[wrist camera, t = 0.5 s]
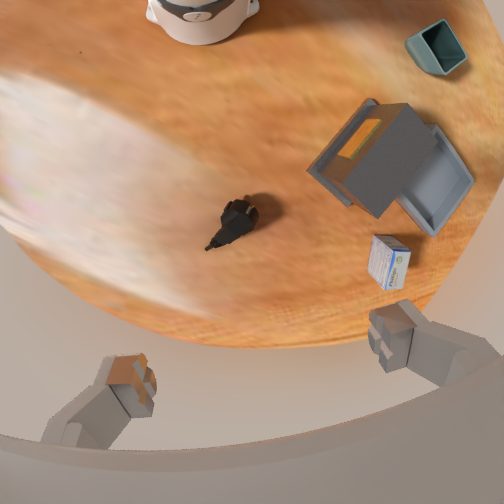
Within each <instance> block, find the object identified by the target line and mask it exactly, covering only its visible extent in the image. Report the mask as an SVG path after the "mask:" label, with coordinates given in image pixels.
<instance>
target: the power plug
mask: <svg viewBox="0 0 504 504" xmlns="http://www.w3.org/2000/svg"><path fill="white" fill-rule="evenodd" d="M258 218H259V215H258V212H257V210H256V208H255V206H251V207H250V203H249V202H247V201H244V197H242V196H241V197H240V198H239V199H235V200H234V201H233V202H232V201H230V202H229V203H228V204H227V206H226V207H225V209H224V212H223V214H222V216H221V223H222V228H221V229H220V230H219V231H218V232H217V233H216V235H215V236H214V237H213V238H212V240H211V242H210V245H208V246H207V247H206V248H205V250H206V251H208V250H209V249H211V248H212V247H214V248H217V247H221V246H224V245H226V244H227V243H228V244H230V243H232V242H233V241H234V240H236V239H237V238H239V237H240V236H241V235H245V234H247V233H248V232H250V231H252V230H253V229H254V227H255V224H256V222H257V220H258Z"/></svg>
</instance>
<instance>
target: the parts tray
mask: <svg viewBox="0 0 504 504" xmlns="http://www.w3.org/2000/svg"><path fill="white" fill-rule="evenodd" d="M424 124H425V125H426V126H427V127H428V129H429V130H430V131H431V133H432V134H433V135H434V137H435V138H436V139H437V141H438V143H437V144H436V146H435V147H434V148H433V150H432V151H431V153H430V154H429V155H428V157H427V158H426V159H425V161H424V162H423V163H422V164H421V166H420V167H419V168H418V170H417V171H416V172H415V174H414V175H413V176H412V177H411V179H410V180H409V181H408V183H407V184H406V185H405V186H404V188H403V189H402V190H401V191H400V193H399V194H398V195H397V196H396V198H395V200H396V201H397V202H398V204H399V205H400V206H401V207H402V208H403V209H404V210H405V211H406V213H407V214H408V215H409V216H410V217H411V218H412V220H413V221H414V222H415V223H416V224H417V226H418V227H419V228H420V229H421V230H422V231H423V232H425V233H426V234H428V235H429V236H431V237H433V238H434V237H435V236H436V234H437V233H438V232H439V231H440V229H441V228H442V227H443V225H444V224H445V223H446V221H447V220H448V219H449V217H450V216H451V215H452V213H453V212H454V211H455V209H456V208H457V207H458V205H459V204H460V202H461V201H462V200H463V198H464V197H465V195H466V194H467V192H468V191H469V190H470V188H471V187H472V185H473V184H474V182H475V180H474V179H473V177H472V175H471V174H470V172H469V171H468V169H467V167H466V166H465V164H464V163H463V161H462V160H461V158H460V157H459V155H458V154H457V152H456V151H455V149H454V148H453V146H452V145H451V143H450V142H449V140H448V139H447V138H446V136H445V135H444V133H443V132H442V131H441V129H440V128H439V127H438V125H437V124H428V123H424Z"/></svg>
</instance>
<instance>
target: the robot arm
mask: <svg viewBox="0 0 504 504" xmlns="http://www.w3.org/2000/svg"><path fill="white" fill-rule="evenodd" d="M251 1H253V2H252V3H250V0H148V2H149V4H148V8H147V11H146V17H147V19H148V20H149V21H151V22H153V23H156V24H158V25H160V26H161V27H162V28H163V29H164V30H165V31H166V33H167V34H168V35H170V36H171V37H172V38H174V39H175V40H177V41H180V42H182V43H186V44H191V45H206V44H211V43H215V42H218V41H220V40H223V39H225V38H226V37H228V36H230V35H231V34H232V33H233V32H235V31H236V30H237V29H238V27H239V26H240V25H241V23H242V22H243V21H244V20H245V19H246V18H248V17H250V16H252V15H254V14H255V13H257V12H258V11H259V2H258V0H251ZM369 320H370V322H371V323H372V325H371V326H370V328H369V329H368V338H369V344H370V346H371V349H372V351H373V352H374V353H375V354H377V355H379V362H380V364H381V366H382V367H383V369H384V371H385V372H386V373H388V372H391V371H394V370H398V369H401V368H404V367H407V368H408V369H410V370H412V371H413V372H415V373H417V374H418V375H420V376H422V377H424V378H426V379H427V380H429V381H431V382H432V383H434V384H436V385H438V386H439V387H441V388H438V389H436V390H434V391H432V392H429V393H427V394H424V395H422V396H420V397H417V398H415V399H412V400H410V401H407V402H404V403H402V404H399V405H396V406H394V407H391V408H388V409H385V410H382V411H380V412H376V413H374V414H370V415H367V416H364V417H361V418H358V419H354V420H351V421H347V422H344V423H340V424H337V425H333V426H330V427H325V428H322V429H317V430H313V431H309V432H305V433H301V434H296V435H291V436H286V437H281V438H275V439H270V440H264V441H258V442H252V443H245V444H237V445H230V446H220V447H211V448H198V449H183V450H159V451H158V450H157V451H131V450H107V449H108V448H109V447H110V446H111V444H112V443H113V442H114V440H115V439H116V438H117V437H118V435H119V434H120V433H121V432H122V430H123V429H124V428H125V427H126V425H127V424H128V423H129V421H130V420H131V418H144V417H152V413H153V407H154V402H153V400H152V398H153V396H154V395H155V394H156V390H157V385H156V378H155V375H154V373H153V371H152V370H151V369H150V368H148V367H147V362H148V361H147V359H146V357H145V355H144V354H142V353H135V354H122V355H111V356H106V357H104V359H103V361H102V363H101V366H100V369H99V371H98V373H97V376H96V379H95V381H94V384H93V386H89V387H87V388H86V389H85V390H84V391H83V392H81V393H80V394H79V395H78V396H77V397H75V398H74V399H73V400H72V401H71V402H69V403H68V404H67V405H66V406H65V407H64V408H62V409H61V410H60V411H59V412H58V413H56V414H55V415H54V416H53V417H52V418H51V419H49V421H48V423H47V426H46V429H45V431H44V433H43V436H42V439H41V441H40V442H35V441H30V440H24V439H19V438H14V437H10V436H5V435H1V434H0V504H504V355H503V356H501V355H500V354H499V353H498V352H497V351H496V350H495V349H494V348H493V347H492V345H491V344H489V342H488V341H487V340H486V339H485V338H482V337H479V336H476V335H473V334H470V333H467V332H464V331H461V330H458V329H455V328H452V327H449V326H446V325H443V324H440V323H437V322H434V321H432V322H429V321H428V320H427V319H426V318H425V316H424V315H423V314H422V313H421V312H420V311H419V310H418V309H417V308H416V307H415V306H414V305H413V303H412V302H411V301H410V300H408V299H405V300H402V301H399V302H396V303H394V304H390V305H387V306H383V307H380V308H376V309H372V310H370V313H369Z"/></svg>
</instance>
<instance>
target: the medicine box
mask: <svg viewBox="0 0 504 504" xmlns="http://www.w3.org/2000/svg"><path fill="white" fill-rule="evenodd" d="M410 255H411V250H409V249H408V248H407V247H406V246H404V245H403V244H401V243H400V242H399V241H397V240H396V239H395V238H393V237H392V236H383V235H373V239H372V246H371V252H370V257H369V263H368V268H367V272H368V273H369V274H370V275H371V276H372V277H373V278H374V279H375V280H376V282H377V283H378V284H379V285H380V286H381V287H382V288H383V290H390V289H402V288H403V284H404V280H405V276H406V272H407V268H408V264H409V259H410Z"/></svg>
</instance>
